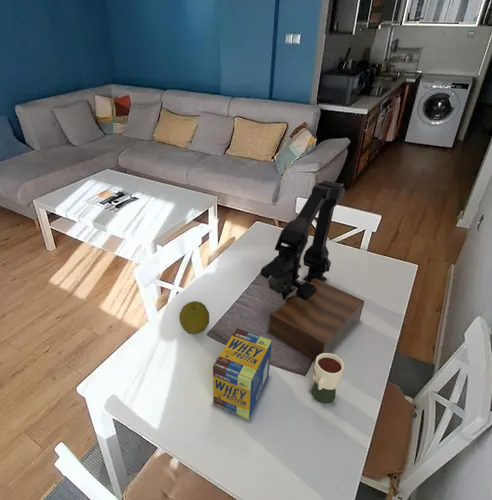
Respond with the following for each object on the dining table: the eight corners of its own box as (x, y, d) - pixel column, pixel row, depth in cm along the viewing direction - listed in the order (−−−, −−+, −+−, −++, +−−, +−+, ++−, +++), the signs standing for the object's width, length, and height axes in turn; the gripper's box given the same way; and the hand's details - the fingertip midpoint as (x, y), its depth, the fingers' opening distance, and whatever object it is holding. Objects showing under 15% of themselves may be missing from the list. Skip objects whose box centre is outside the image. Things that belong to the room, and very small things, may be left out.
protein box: (212, 405, 103) (211, 366, 95) (236, 364, 114) (236, 326, 106) (249, 421, 99) (251, 382, 90) (269, 377, 110) (273, 338, 102)
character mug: (318, 375, 110) (324, 344, 103) (342, 387, 107) (351, 355, 100) (302, 402, 103) (308, 370, 96) (327, 416, 99) (335, 384, 92)
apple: (187, 315, 133) (185, 291, 127) (213, 322, 130) (213, 297, 124) (175, 335, 125) (173, 310, 119) (203, 342, 122) (202, 317, 116)
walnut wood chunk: (309, 296, 140) (312, 276, 135) (359, 321, 128) (364, 300, 124) (268, 332, 125) (270, 312, 120) (320, 364, 114) (324, 343, 109)
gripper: (251, 260, 123) (248, 297, 132) (301, 287, 112) (293, 325, 121) (272, 247, 130) (268, 283, 139) (321, 271, 119) (312, 308, 128)
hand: (284, 299), depth 131 cm, fingers closed
